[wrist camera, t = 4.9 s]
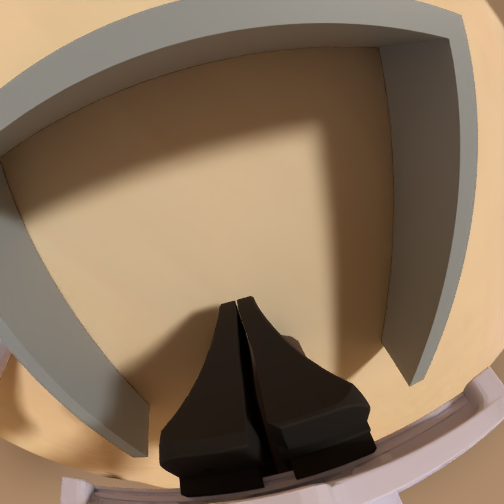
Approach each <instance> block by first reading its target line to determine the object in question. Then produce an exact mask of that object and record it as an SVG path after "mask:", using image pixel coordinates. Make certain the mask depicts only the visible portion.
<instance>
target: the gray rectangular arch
mask: <svg viewBox="0 0 504 504" xmlns="http://www.w3.org/2000/svg"><path fill="white" fill-rule="evenodd" d="M336 46H355V47H379V52H380V57H381V62H382V68H383V73H384V79H385V85H386V92H387V100H388V107H389V116H390V126H391V137H392V152H393V174H394V224H393V246H392V261H391V273H390V283H389V292H388V301H387V308H386V315H385V322H384V328H383V334H382V340H381V343H382V344H383V346H384V347H385V349H386V350H387V352H388V353H389V355H390V356H391V358H392V359H393V361H394V363H395V364H396V366H397V367H398V369H399V370H400V372H401V374H402V375H403V377H404V378H405V380H406V382H407V383H408V385H409V386H412V385H414V384H415V383H417V382H419V381H421V380H423V379H424V377H425V375H426V373H427V370H428V368H429V366H430V364H431V361H432V359H433V357H434V354H435V352H436V349H437V347H438V344H439V342H440V339H441V336H442V334H443V331H444V328H445V325H446V322H447V320H448V317H449V314H450V311H451V307H452V304H453V301H454V298H455V294H456V291H457V287H458V283H459V280H460V276H461V272H462V268H463V263H464V259H465V254H466V250H467V245H468V239H469V234H470V228H471V222H472V215H473V207H474V199H475V189H476V177H477V158H478V122H477V103H476V92H475V82H474V74H473V67H472V61H471V55H470V50H469V45H468V40H467V35H466V31H465V27H464V23H463V19H462V15H459V14H457V13H454V12H451V11H448V10H446V9H443V8H440V7H436V6H433V5H430V4H427V3H423V2H419V1H416V0H179V1H175V2H172V3H168V4H164V5H161V6H158V7H154V8H151V9H148V10H145V11H142V12H139V13H136V14H134V15H131V16H128V17H126V18H123V19H120V20H118V21H115V22H113V23H111V24H108V25H106V26H104V27H101V28H99V29H97V30H95V31H93V32H90V33H88V34H86V35H84V36H82V37H80V38H78V39H76V40H74V41H73V42H71V43H69V44H67V45H65V46H63V47H62V48H60V49H58V50H56V51H55V52H53V53H51V54H50V55H48V56H46V57H45V58H43V59H41V60H40V61H38V62H37V63H35V64H34V65H32V66H31V67H29V68H28V69H26V70H25V71H23V72H22V73H21V74H19V75H18V76H16V77H15V78H14V79H12V80H11V81H10V82H8V83H7V84H6V85H5V86H3V87H2V88H1V89H0V157H1V156H3V155H4V154H5V153H7V152H8V151H10V150H11V149H12V148H14V147H15V146H17V145H18V144H20V143H21V142H23V141H24V140H26V139H27V138H29V137H31V136H32V135H34V134H35V133H37V132H39V131H40V130H42V129H44V128H45V127H47V126H49V125H51V124H52V123H54V122H56V121H58V120H59V119H61V118H63V117H65V116H67V115H69V114H71V113H73V112H75V111H77V110H78V109H81V108H83V107H85V106H87V105H89V104H91V103H93V102H95V101H97V100H100V99H102V98H104V97H106V96H109V95H111V94H113V93H116V92H118V91H121V90H123V89H126V88H128V87H131V86H133V85H136V84H139V83H142V82H144V81H147V80H150V79H153V78H156V77H159V76H162V75H165V74H168V73H172V72H175V71H178V70H182V69H185V68H189V67H193V66H197V65H201V64H205V63H209V62H213V61H218V60H222V59H227V58H232V57H237V56H243V55H249V54H255V53H262V52H269V51H277V50H286V49H297V48H310V47H336ZM0 339H1V340H2V341H3V343H4V344H5V345H6V346H7V348H8V349H9V350H10V351H11V352H12V354H13V355H14V356H15V357H16V358H17V359H18V360H19V362H20V363H21V364H22V365H23V366H24V367H25V368H26V369H27V370H28V371H29V373H30V374H31V375H32V376H33V377H34V378H35V379H36V380H37V381H38V382H39V383H40V384H41V385H42V386H43V387H44V388H45V389H46V390H47V391H48V392H49V393H50V394H51V395H53V396H54V397H55V398H56V399H57V400H58V401H59V402H60V403H61V404H62V405H64V406H65V407H66V408H67V409H68V410H69V411H70V412H72V413H73V414H74V415H75V416H76V417H78V418H79V419H80V420H81V421H83V422H84V423H85V424H86V425H88V426H89V427H90V428H92V429H93V430H94V431H96V432H97V433H98V434H100V435H101V436H102V437H104V438H105V439H106V440H108V441H109V442H111V443H112V444H114V445H115V446H117V447H118V448H120V449H121V450H123V451H124V452H126V453H127V454H129V455H130V456H132V457H148V428H149V404H148V403H147V402H146V401H145V400H144V399H143V398H142V397H141V396H140V395H139V394H138V393H137V392H136V391H135V390H134V389H133V387H132V386H131V385H130V384H129V383H128V382H127V381H126V380H125V378H124V377H123V376H122V375H121V374H120V373H119V372H118V370H117V369H116V368H115V367H114V366H113V364H112V363H111V362H110V361H109V360H108V358H107V357H106V356H105V355H104V353H103V352H102V351H101V349H100V348H99V347H98V346H97V344H96V343H95V342H94V340H93V339H92V338H91V336H90V335H89V334H88V332H87V331H86V330H85V328H84V327H83V325H82V324H81V322H80V321H79V320H78V318H77V317H76V315H75V314H74V312H73V311H72V309H71V308H70V306H69V305H68V303H67V302H66V300H65V299H64V297H63V295H62V294H61V292H60V291H59V289H58V287H57V286H56V284H55V282H54V281H53V279H52V277H51V275H50V274H49V272H48V270H47V268H46V267H45V265H44V263H43V261H42V259H41V257H40V256H39V254H38V252H37V250H36V248H35V246H34V244H33V242H32V240H31V238H30V236H29V234H28V232H27V229H26V227H25V225H24V223H23V221H22V218H21V216H20V214H19V212H18V209H17V207H16V204H15V202H14V199H13V197H12V194H11V192H10V189H9V186H8V184H7V181H6V178H5V175H4V172H3V169H2V166H1V163H0Z"/></svg>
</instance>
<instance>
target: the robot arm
mask: <svg viewBox="0 0 504 504" xmlns="http://www.w3.org/2000/svg"><path fill="white" fill-rule="evenodd" d="M237 303H238V308H237V305H236V302H235V301H231V302H227V303H224V304H221V305H220V308H219V315H218V321H217V325H216V329H215V333H214V337H213V340H212V343H211V346H210V349H209V352H208V355H207V358H206V360H205V363H204V365H203V368H202V370H201V372H200V374H199V376H198V378H197V380H196V382H195V384H194V386H193V388H192V389H191V391H190V393H189V394H188V396H187V398H186V399H185V401H184V402H183V404H182V405H181V407H180V408H179V410H178V411H177V412H176V414H175V415H174V416H173V418H172V419H171V420H170V421H169V423H168V424H167V425H166V426H165V427H164V429H163V430H162V431H161V436H160V443H159V462H160V466H161V467H162V468H164V469H165V470H166V471H168V472H170V473H172V474H174V475H175V476H177V477H179V479H180V488H175V489H135V488H118V487H106V486H97V485H93V484H92V483H90V482H88V481H85V480H82V479H78V478H71V477H66V476H63V477H62V488H61V503H60V504H208V503H216V504H402V501H401V499H400V497H399V494H398V493H399V492H401V491H403V490H405V489H407V488H409V487H411V486H412V485H414V484H416V483H417V482H420V481H421V480H423V479H425V478H426V477H428V476H430V475H431V474H433V473H435V472H436V471H438V470H439V469H441V468H442V467H444V466H446V465H447V464H449V463H450V462H451V461H453V460H454V459H456V458H457V457H459V456H460V455H461V454H463V453H464V452H465V451H467V450H468V449H469V448H471V447H472V446H473V445H475V444H476V443H477V442H478V441H480V440H481V439H482V438H483V437H485V436H486V435H487V434H488V433H489V432H491V431H492V430H493V429H494V428H495V427H496V426H497V425H498V424H499V423H500V422H501V421H503V419H504V385H503V383H502V382H501V381H500V380H499V378H498V377H497V375H496V374H495V373H494V372H493V370H492V369H491V368H490V367H487V368H486V369H485V370H484V371H482V372H481V373H480V374H478V375H477V376H476V377H474V378H473V379H472V380H471V381H470V382H469V383H468V384H467V385H466V387H465V388H464V391H463V392H461V393H460V394H459V395H457V396H456V397H454V398H453V399H451V400H450V401H448V402H447V403H445V404H443V405H442V406H440V407H439V408H437V409H435V410H434V411H432V412H430V413H429V414H427V415H425V416H424V417H422V418H420V419H418V420H417V421H415V422H413V423H411V424H409V425H407V426H405V427H404V428H402V429H400V430H398V431H396V432H394V433H392V434H390V435H387V436H385V437H383V438H381V439H379V440H377V441H374V440H373V438H372V436H371V434H370V431H371V429H370V427H369V425H368V422H367V419H368V416H369V413H370V405H369V403H368V402H367V400H366V399H365V397H364V396H363V395H362V393H361V392H360V391H359V390H358V389H357V388H356V387H355V386H354V385H353V384H352V383H350V382H348V381H346V380H344V379H342V378H340V377H338V376H336V375H334V374H332V373H330V372H329V371H327V370H325V369H323V368H322V367H320V366H319V365H317V364H316V363H314V362H313V361H311V360H310V359H308V358H307V357H306V356H304V355H303V354H302V353H300V352H299V351H298V350H297V349H296V348H294V347H293V346H292V345H291V344H290V343H289V342H288V341H287V340H285V339H284V338H283V337H282V336H281V335H280V333H279V332H278V331H277V330H276V329H275V328H274V327H273V326H272V325H271V323H270V322H269V321H268V320H267V319H266V317H265V316H264V315H263V313H262V312H261V310H260V309H259V307H258V306H257V304H256V302H255V300H254V297H252V296H249V297H246V298H242V299H238V300H237ZM238 310H239V311H238ZM239 313H240V314H239ZM240 316H241V317H240ZM241 319H242V320H241ZM242 322H243V323H242ZM243 325H244V326H243ZM245 330H246V331H245ZM246 333H247V335H246ZM247 336H248V339H249V342H250V345H251V347H252V350H253V355H254V359H255V364H256V369H257V373H258V378H259V383H260V388H261V393H262V398H263V404H264V409H265V414H266V420H267V424H268V426H269V428H270V430H271V432H272V434H273V436H274V438H275V440H276V442H277V444H278V447H279V451H280V455H281V459H282V461H283V462H284V463H285V465H286V467H287V469H288V471H289V472H285V473H281V474H278V470H277V467H276V464H275V461H274V457H273V454H272V450H271V447H270V443H269V440H268V436H267V433H266V429H265V426H264V422H263V418H262V414H261V410H260V407H259V403H258V398H257V393H256V386H255V379H254V372H253V365H252V358H251V351H250V347H249V343H248V339H247ZM11 355H13V354H12V352H11V351H10V350H9V349H8V348H7V346H6V345H5V344H4V343H3V341H2V340H1V339H0V379H1V377H2V374H3V372H4V370H5V367H6V365H7V363H8V360H9V358H10V356H11ZM351 470H353V471H352V475H349V476H346V477H343V478H340V479H337V480H333V481H330V482H326V483H317V484H313V483H316V482H320V481H323V480H326V479H329V478H332V477H335V476H338V475H340V474H343V473H346V472H348V471H351ZM310 484H312V485H310ZM306 485H308V486H306ZM218 502H221V503H218Z"/></svg>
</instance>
